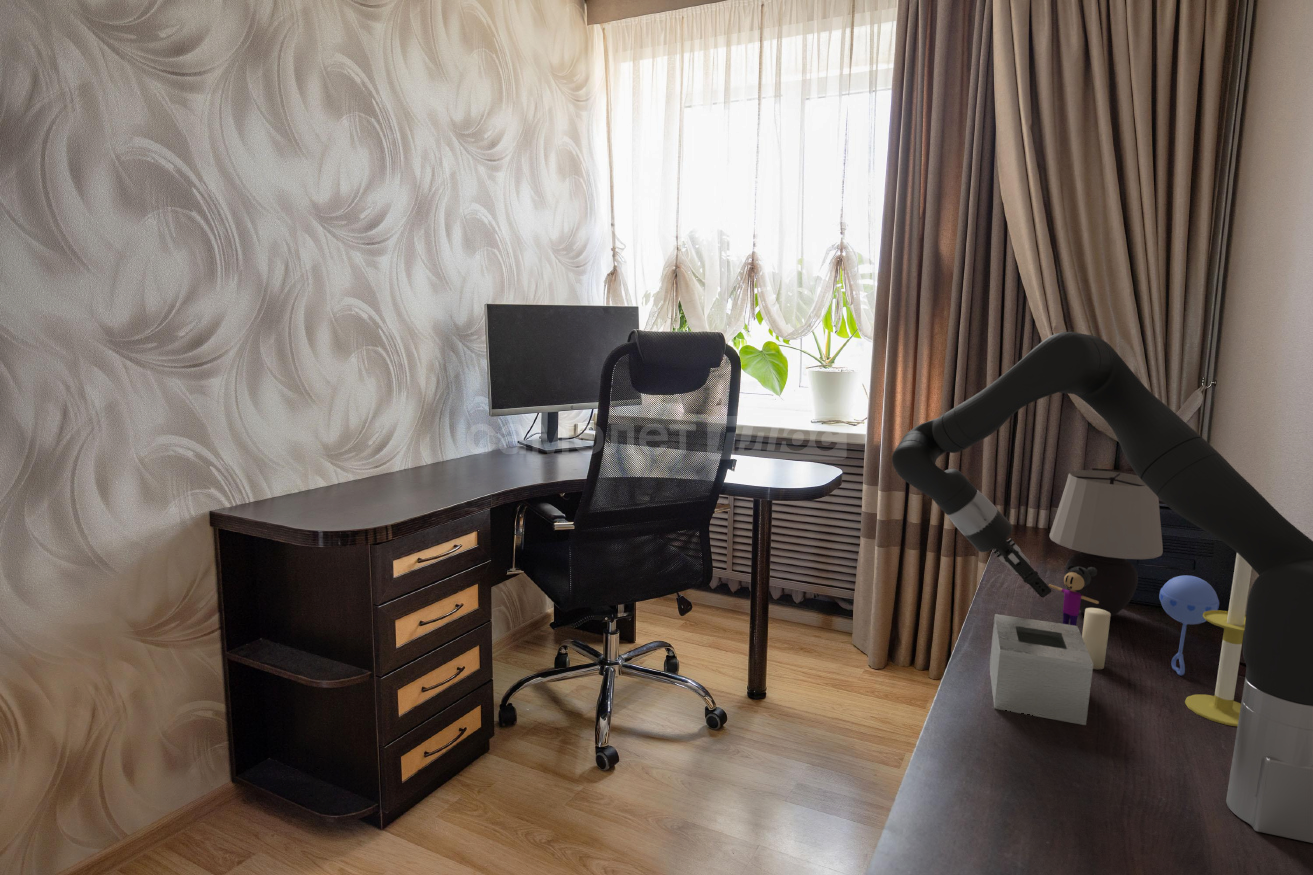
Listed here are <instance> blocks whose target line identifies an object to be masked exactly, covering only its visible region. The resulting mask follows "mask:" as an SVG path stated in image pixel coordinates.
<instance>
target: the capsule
mask: <svg viewBox="0 0 1313 875" xmlns="http://www.w3.org/2000/svg"><path fill="white" fill-rule="evenodd" d="M1110 616H1111V614H1110V613H1109V612H1108V611H1105V610H1102V609H1098V608H1086V609H1085V613H1084V618H1083V626H1082V633H1081V636H1082V638H1083V641H1084V643H1085V645H1086V648H1087V650H1088V653H1089V655H1090V657H1091V660H1092V662H1093V670H1102V669H1104V668H1105V662H1106V656H1107V655H1106V653H1107V646H1108V639H1109V630H1110V623H1111V622H1110V621H1111V617H1110Z"/></svg>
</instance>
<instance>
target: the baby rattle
mask: <svg viewBox="0 0 1313 875" xmlns="http://www.w3.org/2000/svg"><path fill="white" fill-rule="evenodd" d="M1158 597H1159V601H1160V604H1161V606H1162V608H1163V610H1164V612H1165V613H1166V614H1167V615H1168V616H1169V617H1171V618H1172V619H1173V620H1175V621H1177V622H1179V623H1181V624H1182V625H1181V626H1182V627H1181V633H1180V639H1179V645H1178V646H1179V647H1178V652H1177V653H1176V654H1175V655H1174V656H1173V657H1172V659H1171V662H1170V663H1171V668H1172V669H1173V671H1175V672H1176V674H1177V675H1178V676H1184V675H1185V671H1186V668H1185V667H1186V666H1185V661H1184V654H1183V650H1184V644H1185V637H1186V633H1187V626H1188V625H1200V624H1202V623H1205V622H1207V621H1206V620H1205V619H1204V618H1203V613H1204V612H1206V611H1210V610H1219V607H1220V600H1219V598H1218V595H1217V592H1216V590H1215V589H1214V587H1212V585H1211V584H1210V583H1209V582H1207V581H1206V580H1204V579H1202V578H1200V577H1198V576H1195V575H1179V576H1174V577H1172V578H1170V579H1169V580H1168V581H1167V582H1165V583H1164V585H1162V587H1161V588H1160V590H1159V596H1158ZM1177 660H1178V662H1179V667H1178V666H1177Z"/></svg>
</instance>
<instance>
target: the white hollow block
mask: <svg viewBox="0 0 1313 875" xmlns="http://www.w3.org/2000/svg"><path fill="white" fill-rule="evenodd" d="M1093 670H1094V669H1093V662H1092V660H1091V657H1090V655H1089V653H1088V650H1087V648H1086V645H1085V643H1084V641H1083V638H1082V633H1081V631H1080V629H1079V626H1078V625H1076V626H1074V625H1070V624H1069V625H1067V624H1062V623H1060V622H1055V621H1054V622H1052V621H1046V620H1039V619H1033V618H1032V619H1031V618H1025V617H1024V618H1023V617H1018V616H1011V615H1006V614H1005V615H1004V614H997V613H995V614H994V618H993V629H992V638H991V650H990V660H989V674H990V683H991V684H990V685H991V692H992V693H991V694H992V701H993V708H994V709H995V710H1000V711H1005V710H1007V711H1006V712H1010V711H1011V713H1016V714H1021V713H1024V714H1023V715H1027V714H1030V715H1029V716H1032V715H1033V716H1032V717H1038V718H1045V719H1050V720H1053V721H1054V720H1055V721H1060V722H1066V723H1071V724H1075V725H1076V724H1077V725H1081V726H1087V721H1088V720H1087V719H1088V713H1089V712H1088V710H1089V702H1090V693H1091V685H1092V677H1093Z"/></svg>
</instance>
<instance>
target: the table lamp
mask: <svg viewBox="0 0 1313 875" xmlns="http://www.w3.org/2000/svg"><path fill="white" fill-rule="evenodd" d="M1061 495H1062V496H1061V499H1060V501H1059V504H1058V508H1057V511H1056V514H1055V518H1054V520H1053V524H1052V526H1051V528H1050V533H1049V538H1050V541H1051V542H1053V543H1056V544H1057V545H1059V546H1062V547H1065V548H1068V549H1069V550H1074V551H1077V553H1075V554H1073V555H1071V556H1070V557H1069V559H1067V561H1066V563H1065V566H1064V573H1063V574H1064V576H1065V575H1066V574H1067V573H1069V571H1070V570H1071V569H1072V568H1070V569H1068V567H1069V566H1071V565H1074V566H1075V567H1083V568H1085V569H1086V570H1087V569H1088V568H1089V567H1094V568H1095V569H1096V570H1097V575H1096V576H1093V577H1092V576H1091V581H1090V583H1089V584H1088V585H1087V586H1085V587H1083V588H1082V589H1080V590H1075V591H1077V592H1078V593H1080V594H1081V595H1083V596H1085V597H1088V598H1090V599H1093V600H1096V601H1098V602H1099V603H1098V604H1096V603H1093V602H1090V601H1087V600H1084V599H1081V602H1080V609H1079V612H1082V613H1083V614H1085V609H1086V608H1098V609H1102V610H1105V611H1108V612H1109V613H1110V614H1111V616H1110V618H1111V617H1114V616H1115V615H1117V614H1118V613H1120V612H1121V611H1122V610H1123V609H1124V608H1126V607H1127V606H1128V604H1129V603H1130V602H1131V600H1132V598H1133V597H1134V595H1135V592H1136V589H1137V587H1138V584H1139V576H1138V571H1137V569H1136V567H1135V565H1133V564H1132V563H1131V562H1130V561H1129V560H1148V559H1156V558H1158V557H1161V556H1162V555H1163V552H1164V550H1163V548H1164V547H1163V536H1162V524H1161V514H1160V502H1159V500H1160V499H1159V498H1158V496H1157V495H1156V494H1155V493H1154V492H1153V491H1152V490H1151V489H1150V488H1149V487H1148V486H1147V485H1146V484H1145V483H1144V482H1143V481H1142V480H1141V479H1140V477H1139V476H1138V475H1137V474H1130V473H1127V472H1126V473H1125V472H1117V471H1110V470H1107V471H1106V470H1097V469H1096V470H1092V469H1090V470H1089V469H1087V470H1086V469H1083V470H1082V469H1081V470H1080V469H1079V470H1073V471H1070V472H1068V476H1067V480H1066V483H1065V487H1064V490H1063V493H1062V494H1061ZM1066 590H1071V589H1069V588H1067V587H1066Z"/></svg>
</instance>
